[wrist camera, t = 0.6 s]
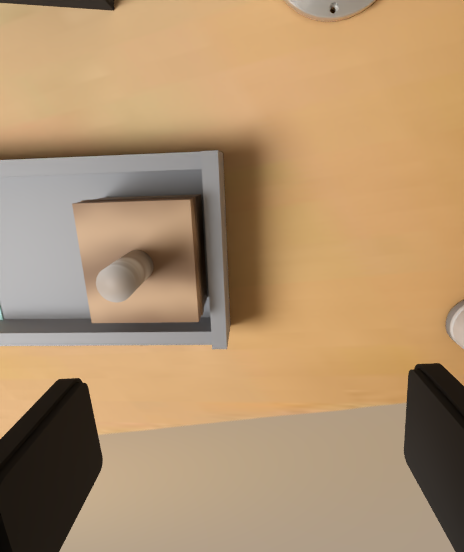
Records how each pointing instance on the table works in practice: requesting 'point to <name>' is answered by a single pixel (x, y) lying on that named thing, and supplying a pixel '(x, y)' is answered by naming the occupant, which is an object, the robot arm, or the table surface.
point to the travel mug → (456, 323)
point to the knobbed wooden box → (143, 258)
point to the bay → (66, 254)
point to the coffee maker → (68, 3)
